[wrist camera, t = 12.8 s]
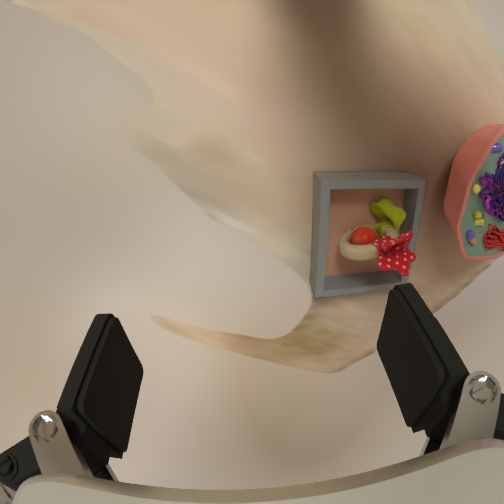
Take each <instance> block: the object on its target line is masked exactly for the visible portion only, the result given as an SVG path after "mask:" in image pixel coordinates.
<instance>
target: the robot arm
mask: <svg viewBox="0 0 504 504" xmlns="http://www.w3.org/2000/svg"><path fill="white" fill-rule="evenodd" d="M377 350H378V353H379V356H380V358H381V361H382V363H383V365H384V368H385V370H386V373H387V375H388V378H389V380H390V383H391V386H392V388H393V391H394V393H395V396H396V398H397V401H398V403H399V406H400V409H401V412H402V415H403V417H404V420H405V423H406V425H407V426H408V427H411V428H412V431H413V433H415V432H418V431H421V430H425V432H426V435H427V439H426V442H425V444H424V446H423V449H422V451H421V453H420V456H419V457H416V458H413V459H410V460H407V461H404V462H401V463H397V464H394V465H390V466H387V467H383V468H380V469H376V470H372V471H368V472H364V473H360V474H356V475H351V476H347V477H342V478H337V479H332V480H326V481H321V482H314V483H307V484H300V485H293V486H284V487H275V488H261V489H243V490H195V489H175V488H163V487H154V486H145V485H138V484H130V483H123V482H119V481H118V479H117V477H116V476H115V474H114V472H113V471H112V469H111V467H110V466H109V464H108V462H109V457H114V458H120V459H122V455H123V452H125V451H126V450H127V448H128V442H129V438H130V432H131V428H132V423H133V418H134V413H135V408H136V404H137V399H138V395H139V390H140V385H141V381H142V377H143V367H142V364H141V363H140V361H139V359H138V357H137V355H136V353H135V351H134V349H133V347H132V345H131V343H130V341H129V339H128V337H127V335H126V333H125V331H124V329H123V327H122V325H121V323H120V321H119V319H118V318H116V317H114V315H113V314H97V315H96V316H95V318H94V320H93V322H92V324H91V326H90V328H89V330H88V332H87V335H86V337H85V339H84V341H83V344H82V346H81V348H80V350H79V353H78V355H77V357H76V360H75V362H74V364H73V367H72V369H71V372H70V374H69V377H68V379H67V382H66V384H65V387H64V389H63V392H62V395H61V397H60V400H59V403H58V405H57V411H56V413H55V412H54V411H50V410H45V411H42V412H40V413H38V414H37V415H35V417H34V418H33V419H32V421H31V423H30V425H29V436H28V437H27V438H25V439H24V440H22V441H21V442H19V443H17V444H16V445H14V446H12V447H11V448H9V449H7V450H6V451H4V452H3V453H1V454H0V504H504V394H502V393H501V388H500V385H499V382H498V381H497V380H496V378H495V377H494V376H493V375H491V374H490V373H487V372H483V371H477V372H473V373H471V374H469V372H468V370H467V368H466V367H465V365H464V363H463V361H462V359H461V358H460V356H459V354H458V353H457V351H456V349H455V348H454V346H453V344H452V343H451V341H450V340H449V338H448V336H447V335H446V333H445V331H444V330H443V328H442V326H441V325H440V323H439V322H438V320H437V319H436V318H435V317H434V316H433V314H432V313H431V311H430V310H429V308H428V307H427V305H426V304H425V302H424V301H423V299H422V298H421V296H420V295H419V293H418V292H417V291H416V289H415V288H414V286H413V285H412V284H411V283H405V284H399V285H395V286H394V288H393V290H390V292H389V295H388V300H387V304H386V309H385V313H384V317H383V322H382V326H381V330H380V334H379V337H378V341H377Z"/></svg>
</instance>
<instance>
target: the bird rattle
mask: <svg viewBox="0 0 504 504" xmlns="http://www.w3.org/2000/svg"><path fill="white" fill-rule="evenodd" d="M370 212H371V213H372V214H373V215H374V216H375V217H376V218H378V219H379V221H380V223H378V224H368V225H362V226H358V227H354V228H347V229H346V230H345V233H344V234H343V235H342V236H341V237H340V239H339V241H338V248H339V251H340V253H341V254H342V255H343V256H344V257H346V258H348V259H351V260H371V259H378V268H379V269H381V270H383V271H390V270H396V271H397V272H398V273H399V274H401V275H402V276H408V274H409V271H410V262H412V261H414V260H415V258H416V256H415V253H414V252H413V251H411V250H410V249H409V248H406V247H403V246H405V245H406V244H408V243H410V241H411V239H412V237H413V232H412V231H408V232H407V233H402V234H400V235H399V233H398V231H397V229H398V227H399V226H400V225H401V224H402V222H403V220H404V219H405V217H406V213H405V211H404V210H403V209H402V208H399V207H395V206H394V204H393V202H392V201H391V200H390V199H389V198H387V197H383V198H382V199H381V201H380V202H379V203H375V202H372V203H371V204H370Z"/></svg>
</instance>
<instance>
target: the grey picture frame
mask: <svg viewBox="0 0 504 504" xmlns="http://www.w3.org/2000/svg"><path fill="white" fill-rule="evenodd" d="M425 186H426V180H424V179H423V178H421V177H419V176H418V175H416V174H414V173H413V172H390V171H323V172H313V221H312V247H311V268H310V284H311V287H312V290H313V293H314V296H315V298H319V297H329V296H339V295H348V294H357V293H366V292H374V291H382V290H390V289H393V288H394V286H395V285H399V284H405V283H407V280H408V276H409V274H408V276H402V275H401V274H399V273H398V272H397V271H396V270H390V271H383V270H381V269H379V268H378V259H371V260H351V259H348V258H346V257H344V256H343V255H342V254H341V253H340V251H339V248H338V241H339V239H340V237H341V236H342V235H343V234H344V233H345V230H346V229H347V228H354V227H358V226H362V225H368V224H378V223H380V221H379V219H378V218H376V217H375V216H374V215H373V214H372V213H371V212H370V204H371V203H372V202H375V203H379V202H380V201H381V199H382V198H383V197H387V198H389V199H390V200H391V201H392V202H393V204H394V206H395V207H399V208H402V209H403V210H404V211H405V213H406V217H405V219H404V220H403V222H402V224H401V225H400V226H399V227H398V229H397V231H398V233H399V235H400V234H402V233H407V232H408V231H412V232H413V237H412V239H411V241H410V243H408V244H406V245H405V246H403V247H406V248H409V249H410V250H411V251H413V252H414V250H415V245H416V240H417V235H418V230H419V224H420V219H421V213H422V207H423V200H424V194H425ZM411 263H412V262H410V268H411ZM409 272H410V271H409Z"/></svg>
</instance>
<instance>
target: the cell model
mask: <svg viewBox="0 0 504 504" xmlns="http://www.w3.org/2000/svg"><path fill="white" fill-rule="evenodd" d="M443 210H444V212H445V215H446V217H447V219H448V220H449V222H450V224H451V226H452V228H453V232H454V235H455V238H456V241H457V243H458V245H459V248H460V250H461V252H462V254H463V256H464V258H466V259H469V260H483V259H495V258H498V257H501V256H502V255H504V125H502V124H490V125H487V126H485V127H482V128H480V129H479V130H477V131H475V132H474V133H472V134H471V135H470V136H469V137H468V138H467V139H466V140H465V142H464V143H463V144H462V146H461V147H460V148H459V150H458V151H457V153H456V155H455V157H454V160H453V163H452V167H451V172H450V176H449V180H448V185H447V189H446V193H445V197H444V203H443Z"/></svg>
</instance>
